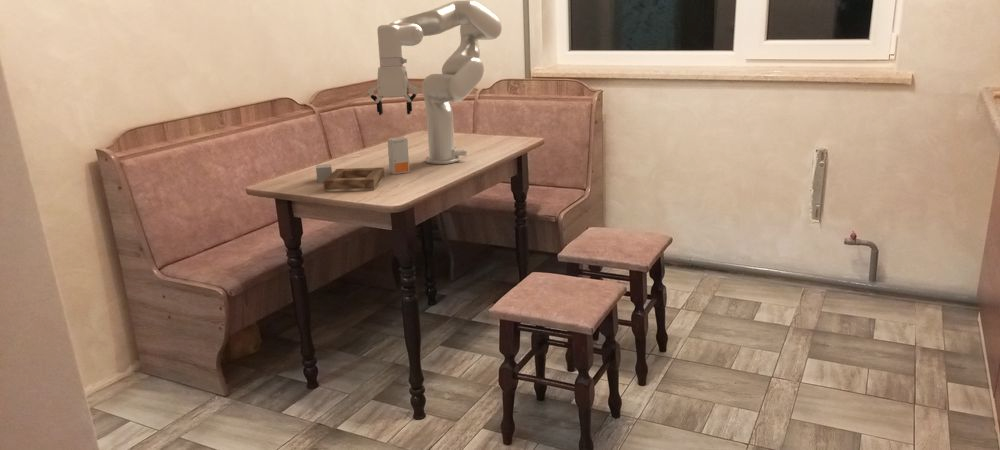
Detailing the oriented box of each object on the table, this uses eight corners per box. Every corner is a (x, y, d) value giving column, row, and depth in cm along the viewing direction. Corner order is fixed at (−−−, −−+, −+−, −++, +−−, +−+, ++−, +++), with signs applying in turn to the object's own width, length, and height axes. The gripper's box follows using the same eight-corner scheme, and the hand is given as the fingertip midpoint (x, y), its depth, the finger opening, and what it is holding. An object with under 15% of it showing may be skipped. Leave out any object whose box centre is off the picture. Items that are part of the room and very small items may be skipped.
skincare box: (393, 174, 262) (390, 140, 258) (389, 172, 265) (386, 138, 262) (410, 172, 264) (407, 138, 261) (405, 170, 268) (403, 136, 265)
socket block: (384, 177, 258) (383, 167, 257) (374, 190, 242) (373, 179, 241) (337, 178, 259) (336, 168, 258) (324, 191, 243) (323, 180, 242)
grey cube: (332, 178, 260) (331, 164, 259) (332, 181, 256) (331, 167, 254) (317, 179, 259) (316, 165, 258) (317, 182, 255) (316, 168, 253)
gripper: (418, 61, 257) (421, 111, 262) (368, 62, 258) (372, 113, 263) (415, 63, 250) (418, 115, 255) (363, 64, 251) (367, 116, 256)
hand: (394, 114), depth 259 cm, fingers open, 9 cm apart
